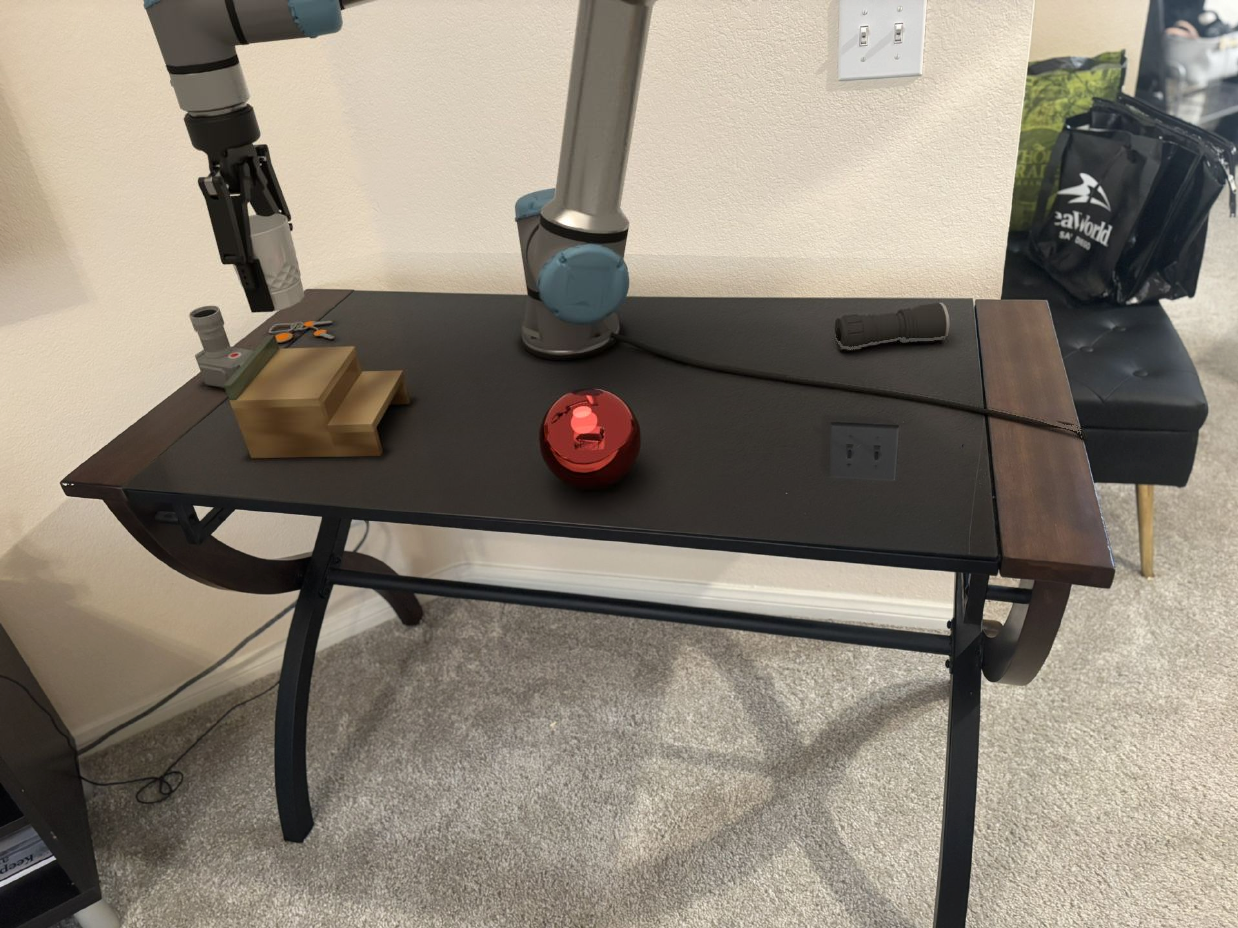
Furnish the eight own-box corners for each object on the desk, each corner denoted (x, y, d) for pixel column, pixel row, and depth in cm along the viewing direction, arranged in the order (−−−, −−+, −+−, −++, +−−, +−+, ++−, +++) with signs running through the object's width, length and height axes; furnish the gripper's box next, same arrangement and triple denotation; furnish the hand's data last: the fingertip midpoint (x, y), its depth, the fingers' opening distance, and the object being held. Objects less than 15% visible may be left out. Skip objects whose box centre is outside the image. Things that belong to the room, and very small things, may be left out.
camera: (208, 297, 137) (287, 308, 132) (232, 365, 144) (308, 378, 139) (165, 322, 131) (246, 334, 126) (192, 392, 138) (270, 407, 132)
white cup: (322, 290, 117) (300, 214, 111) (285, 316, 110) (260, 238, 105) (271, 286, 119) (247, 212, 113) (232, 312, 113) (205, 235, 107)
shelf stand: (410, 400, 130) (393, 330, 124) (380, 456, 119) (359, 381, 112) (291, 403, 132) (268, 334, 126) (251, 458, 121) (223, 385, 114)
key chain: (259, 343, 150) (257, 339, 149) (277, 323, 155) (275, 319, 155) (332, 341, 148) (331, 337, 147) (348, 321, 154) (346, 317, 153)
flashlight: (841, 359, 129) (843, 325, 126) (830, 342, 134) (832, 309, 131) (947, 347, 130) (951, 312, 127) (933, 330, 134) (937, 296, 131)
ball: (659, 462, 112) (654, 377, 105) (617, 519, 104) (608, 430, 97) (574, 445, 117) (563, 363, 110) (527, 498, 108) (513, 412, 101)
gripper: (225, 88, 110) (280, 265, 123) (138, 135, 94) (211, 334, 106) (284, 84, 109) (333, 263, 122) (206, 131, 93) (272, 332, 106)
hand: (276, 296), depth 114 cm, fingers closed on white cup, 8 cm apart
